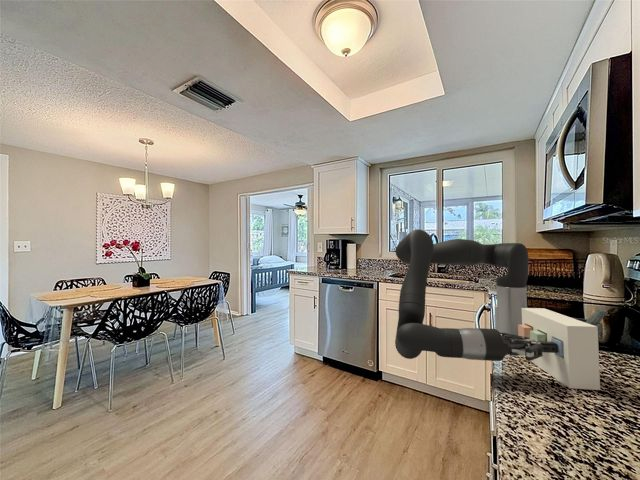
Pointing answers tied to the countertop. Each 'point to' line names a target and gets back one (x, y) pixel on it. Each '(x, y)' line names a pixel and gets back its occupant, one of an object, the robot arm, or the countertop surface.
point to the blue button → (559, 346)
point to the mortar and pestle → (595, 319)
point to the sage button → (537, 336)
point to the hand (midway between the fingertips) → (555, 347)
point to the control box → (567, 348)
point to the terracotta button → (524, 331)
